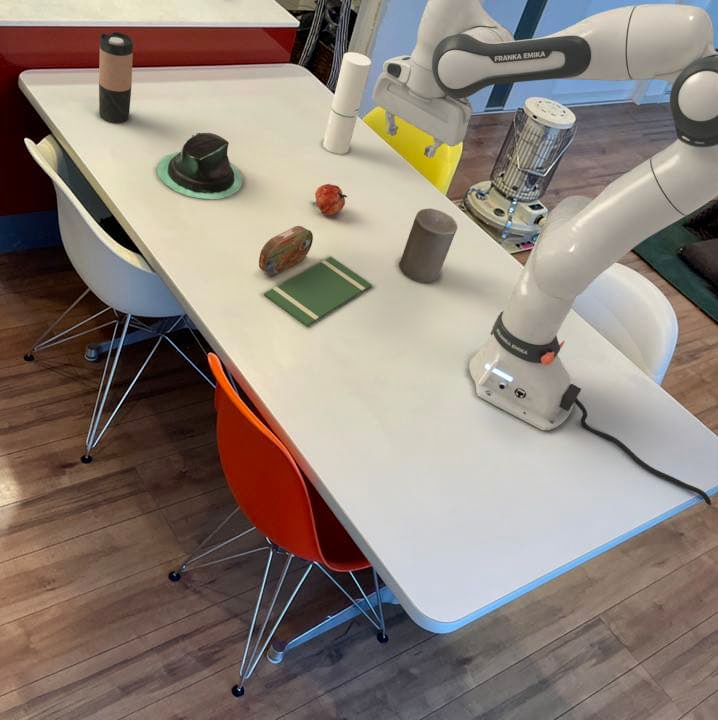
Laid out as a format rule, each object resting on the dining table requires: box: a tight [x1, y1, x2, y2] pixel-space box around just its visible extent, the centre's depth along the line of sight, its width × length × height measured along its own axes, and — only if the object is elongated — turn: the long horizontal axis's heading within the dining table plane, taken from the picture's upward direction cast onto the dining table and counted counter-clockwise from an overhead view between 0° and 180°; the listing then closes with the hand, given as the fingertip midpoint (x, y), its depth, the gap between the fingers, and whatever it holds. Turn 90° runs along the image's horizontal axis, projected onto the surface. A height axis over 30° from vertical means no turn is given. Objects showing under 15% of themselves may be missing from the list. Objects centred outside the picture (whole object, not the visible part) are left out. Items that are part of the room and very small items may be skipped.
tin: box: [258, 225, 314, 277], centre depth 166 cm, size 15×3×8 cm, turn 142°
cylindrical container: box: [322, 51, 372, 155], centre depth 205 cm, size 7×7×25 cm
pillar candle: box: [398, 208, 458, 283], centre depth 176 cm, size 10×10×15 cm
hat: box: [156, 132, 243, 200], centre depth 186 cm, size 15×19×20 cm
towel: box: [263, 256, 373, 327], centre depth 166 cm, size 12×22×1 cm, turn 142°
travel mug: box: [98, 31, 134, 124], centre depth 190 cm, size 8×8×20 cm
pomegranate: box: [312, 183, 348, 216], centre depth 187 cm, size 7×7×10 cm
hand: (409, 144), depth 153 cm, fingers open, 8 cm apart
